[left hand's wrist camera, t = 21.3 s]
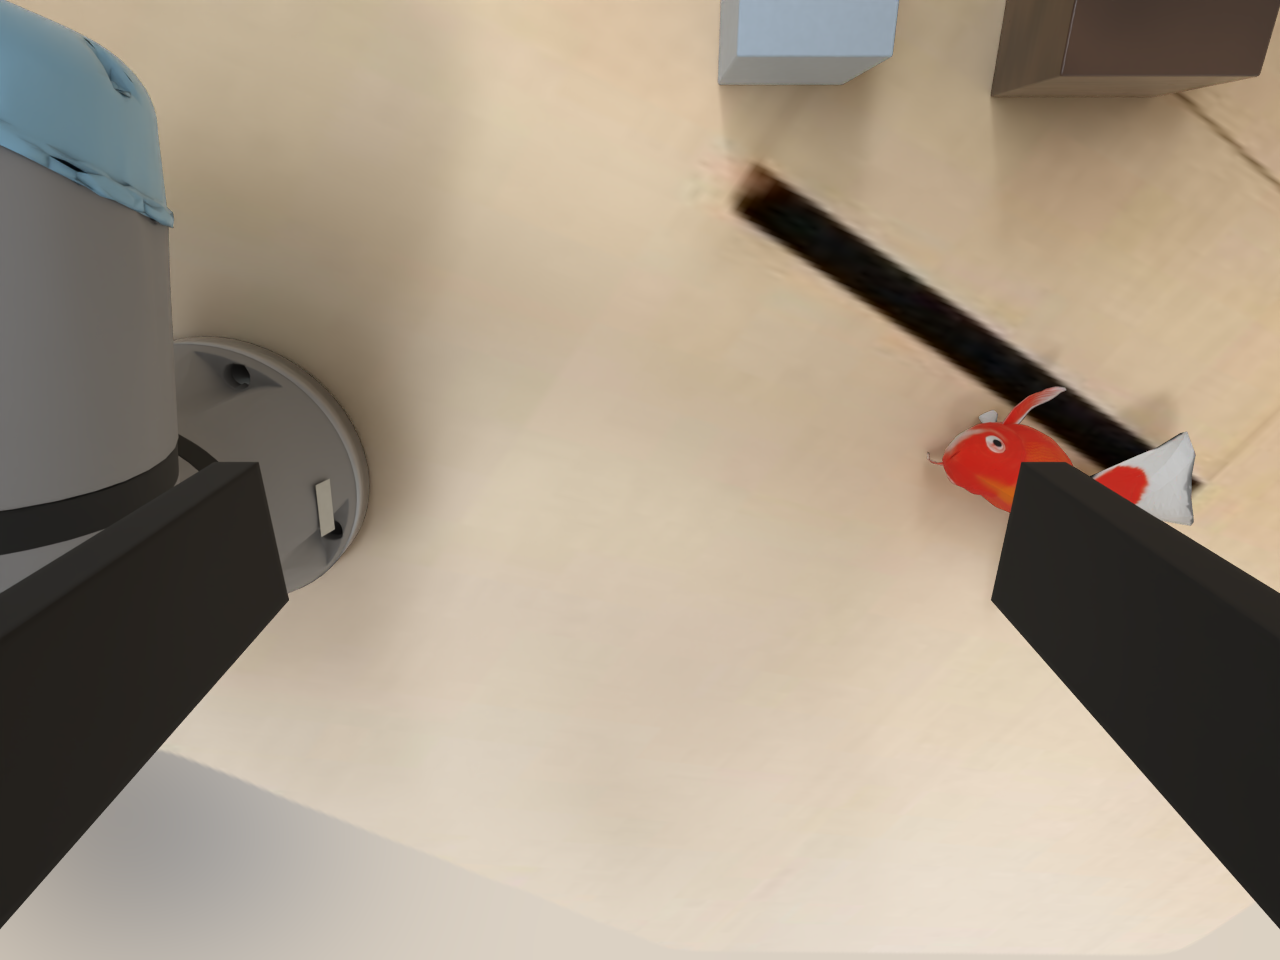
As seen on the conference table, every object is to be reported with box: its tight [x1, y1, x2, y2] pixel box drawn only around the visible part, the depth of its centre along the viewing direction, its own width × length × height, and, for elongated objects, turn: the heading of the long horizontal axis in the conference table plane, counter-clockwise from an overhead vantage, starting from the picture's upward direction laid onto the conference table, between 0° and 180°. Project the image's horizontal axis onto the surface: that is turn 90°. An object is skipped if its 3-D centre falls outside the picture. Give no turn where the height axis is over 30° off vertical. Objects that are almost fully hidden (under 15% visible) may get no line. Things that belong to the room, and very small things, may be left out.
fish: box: [927, 386, 1195, 526], centre depth 36 cm, size 11×16×10 cm
